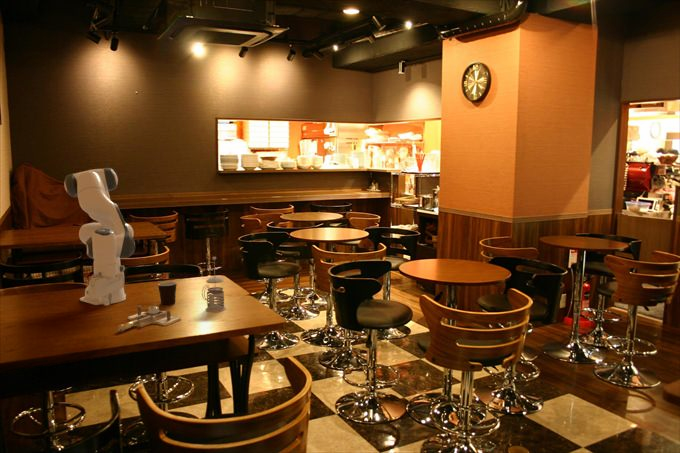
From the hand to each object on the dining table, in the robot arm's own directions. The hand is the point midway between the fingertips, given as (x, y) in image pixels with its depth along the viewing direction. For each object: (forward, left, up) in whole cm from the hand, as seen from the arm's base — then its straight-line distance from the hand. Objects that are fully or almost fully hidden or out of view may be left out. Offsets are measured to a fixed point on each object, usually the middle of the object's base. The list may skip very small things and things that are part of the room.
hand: (107, 304), depth 221 cm
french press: (+14, +48, -13) cm, 52 cm away
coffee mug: (-13, +48, -13) cm, 52 cm away
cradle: (0, +21, -13) cm, 25 cm away
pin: (0, +10, -13) cm, 17 cm away
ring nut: (0, +24, -12) cm, 27 cm away
